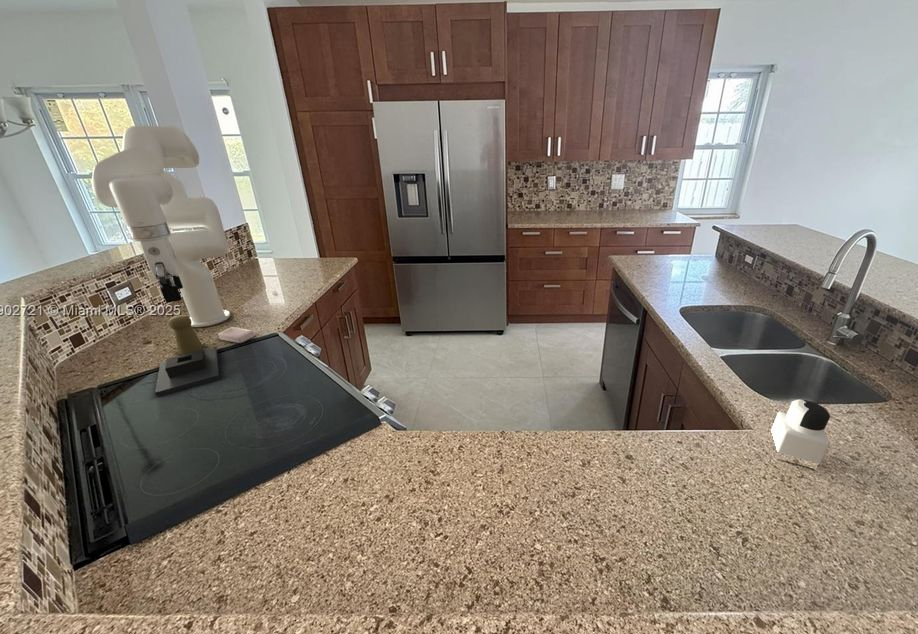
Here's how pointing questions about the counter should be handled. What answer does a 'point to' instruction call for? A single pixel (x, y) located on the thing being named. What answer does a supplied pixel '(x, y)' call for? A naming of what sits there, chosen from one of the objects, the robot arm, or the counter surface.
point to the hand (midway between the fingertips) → (175, 294)
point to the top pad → (185, 363)
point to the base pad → (188, 375)
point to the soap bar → (236, 335)
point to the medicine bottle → (802, 431)
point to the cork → (185, 334)
